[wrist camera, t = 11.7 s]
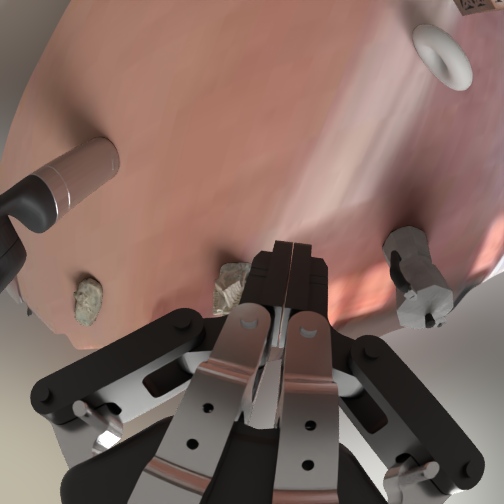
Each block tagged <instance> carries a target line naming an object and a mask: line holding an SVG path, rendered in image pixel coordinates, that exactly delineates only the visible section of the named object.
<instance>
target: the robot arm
mask: <svg viewBox="0 0 504 504" xmlns="http://www.w3.org/2000/svg"><path fill="white" fill-rule="evenodd" d="M118 169H119V156H118V153H117V150H116V148H115V147H114V145H113V144H112V143H111V142H110V141H109V140H107V139H105V138H103V137H97V138H94V139H92V140H90V141H88V142H86V143H84V144H82V145H80V146H78V147H76V148H74V149H72V150H70V151H68V152H66V153H65V154H63V155H61V156H59V157H57V158H56V159H54V160H52V161H51V162H49V163H47V164H46V165H44V166H42V167H41V168H39V169H38V170H36V171H34V172H33V173H31V174H30V175H28V176H27V177H25V178H24V179H22V180H21V181H20V182H18V183H17V184H16V185H14V186H13V187H11V188H10V189H9V190H7V191H6V192H4V193H3V194H1V195H0V293H1V292H2V291H3V290H4V289H5V288H6V286H7V285H8V284H9V283H10V282H11V281H12V280H13V278H14V277H15V276H16V275H17V274H18V272H19V271H20V269H21V268H22V266H23V265H24V263H25V260H26V256H27V255H26V250H25V248H24V246H23V244H22V242H21V240H20V238H19V237H18V234H17V233H16V231H15V229H14V227H13V225H12V223H11V221H10V219H9V217H8V215H11V216H13V217H15V218H16V219H18V220H19V221H20V222H21V223H22V224H23V225H25V226H26V227H27V228H28V229H29V230H31V231H33V232H35V233H43V232H45V231H47V230H48V229H49V228H50V227H51V226H52V225H54V224H55V223H56V222H57V221H58V220H59V219H60V218H62V217H63V216H64V215H65V214H66V213H67V212H69V211H70V210H71V209H72V208H73V207H75V206H76V205H77V204H78V203H80V202H81V201H82V200H83V199H85V198H86V197H87V196H89V195H90V194H91V193H93V192H94V191H95V190H97V189H98V188H99V187H101V186H102V185H103V184H105V183H106V182H108V181H109V180H110V179H112V178H113V177H114V176H115V175H116V174H117V172H118ZM292 247H293V242H286V241H277V240H276V241H275V244H274V248H273V252H267V251H261V252H259V253H258V254H257V255H256V256H255V257H254V259H253V262H252V265H251V269H250V271H249V274H248V277H247V280H246V283H245V286H244V289H243V292H242V296H241V299H240V302H239V304H238V306H236V307H234V308H233V309H232V310H231V311H230V313H229V314H227V315H225V316H222V317H215V318H202V316H201V315H200V314H199V313H198V312H197V311H195V310H193V309H190V308H180V309H176V310H174V311H172V312H170V313H168V314H166V315H164V316H162V317H161V318H159V319H157V320H155V321H153V322H151V323H149V324H147V325H145V326H144V327H142V328H140V329H138V330H136V331H134V332H132V333H130V334H128V335H126V336H125V337H123V338H121V339H119V340H117V341H115V342H113V343H111V344H109V345H107V346H105V347H103V348H101V349H99V350H98V351H96V352H94V353H92V354H90V355H88V356H86V357H84V358H82V359H80V360H78V361H76V362H74V363H72V364H70V365H68V366H66V367H64V368H62V369H60V370H58V371H56V372H55V373H53V374H50V375H48V376H47V377H44V378H42V379H41V380H39V381H38V382H37V383H36V384H35V385H34V386H33V389H32V391H31V397H30V399H31V404H32V406H33V408H34V410H35V411H36V412H37V413H39V414H40V415H42V416H43V417H45V418H46V419H48V420H49V421H50V423H51V424H52V426H53V429H54V432H55V435H56V438H57V440H58V443H59V446H60V448H61V450H62V453H63V455H64V457H65V460H66V462H67V464H68V466H69V470H68V471H67V473H66V474H65V475H64V477H63V479H62V482H61V487H60V496H61V501H62V504H443V503H444V502H445V501H446V500H447V499H448V498H449V497H450V496H451V495H452V494H455V493H458V492H462V491H465V490H469V489H471V488H473V487H474V486H475V485H477V483H478V482H479V481H480V479H481V478H482V475H483V473H484V468H485V461H484V458H483V456H482V454H481V453H480V451H479V450H478V449H477V448H476V446H475V445H474V444H473V443H472V441H471V440H470V439H469V438H468V437H467V435H466V434H465V433H464V431H463V430H462V429H461V428H460V427H459V426H458V424H457V423H456V422H455V421H454V420H453V418H452V417H451V416H450V415H449V413H447V411H446V410H445V409H444V408H443V406H442V405H441V404H440V403H439V402H438V401H437V400H436V398H435V397H434V396H433V395H432V394H431V393H430V391H429V390H428V389H427V388H426V387H425V386H424V384H423V383H422V382H421V381H420V380H419V379H418V378H417V377H416V375H415V374H414V373H413V372H412V371H411V370H410V369H409V368H408V366H407V365H406V364H405V363H404V362H403V361H402V360H401V359H400V358H399V356H398V355H397V354H396V353H395V352H394V351H393V350H392V349H391V348H390V347H389V346H388V344H387V343H385V341H384V340H382V339H381V338H379V337H376V336H373V335H364V336H361V337H359V338H357V339H356V340H354V339H351V338H349V337H346V336H344V335H342V334H340V333H338V332H337V331H336V330H334V329H333V327H332V326H331V325H330V323H329V321H328V315H327V314H328V267H327V265H326V263H325V262H324V260H323V258H315V257H311V249H312V245H310V244H302V243H294V249H293V255H292ZM291 256H292V262H291ZM290 264H291V269H290ZM289 273H290V275H289ZM288 280H289V281H288ZM287 287H288V288H287ZM286 293H287V294H286ZM285 299H286V300H285ZM284 305H285V306H284ZM283 311H284V313H283ZM282 316H283V321H282ZM281 322H282V328H281ZM280 328H281V335H280V342H279V347H280V348H284V350H283V355H282V362H281V367H280V378H279V389H278V399H277V409H276V415H275V423H274V428H273V429H255V428H253V427H250V426H248V425H249V422H250V418H251V414H252V410H253V406H254V402H255V400H256V396H257V393H258V390H259V387H260V384H261V381H262V378H263V374H264V371H265V368H266V364H267V361H268V359H269V356H270V351H271V346H272V347H277V344H278V339H279V333H280ZM184 390H186V391H185V394H184V396H183V398H182V400H181V402H180V404H179V406H178V408H177V410H176V413H175V415H173V416H170V417H167V418H164V419H162V420H160V421H158V422H156V423H154V424H153V425H151V426H149V427H148V428H146V429H144V430H142V431H141V432H139V433H137V434H135V435H134V436H132V437H130V438H128V439H126V440H125V441H123V442H121V443H119V444H117V445H115V446H114V447H112V448H110V447H111V446H112V445H113V444H114V443H116V442H117V441H118V440H119V439H120V438H121V436H122V433H123V424H124V423H126V422H128V421H130V420H132V419H134V418H136V417H138V416H140V415H142V414H143V413H145V412H147V411H149V410H151V409H152V408H154V407H156V406H158V405H160V404H161V403H163V402H165V401H167V400H168V399H170V398H172V397H174V396H175V395H177V394H179V393H180V392H182V391H184ZM339 406H340V407H341V409H342V410H343V411H344V413H345V414H346V415H347V417H348V418H349V419H350V421H351V422H352V423H353V425H354V426H355V427H356V428H357V430H358V431H359V432H360V434H361V435H362V436H363V438H364V439H365V440H366V442H367V443H368V444H369V445H370V447H371V448H372V449H373V451H374V452H375V453H376V454H377V456H378V457H379V458H380V460H381V461H382V462H383V463H384V465H385V466H386V467H387V469H388V471H387V472H386V474H385V477H384V480H383V486H384V489H385V491H386V493H387V496H388V503H387V501H386V500H385V498H384V497H383V496H382V495H381V493H380V492H379V490H378V489H377V487H376V486H375V484H374V483H373V482H372V480H371V479H370V477H369V476H368V475H367V473H366V472H365V470H364V469H363V467H362V466H361V465H360V463H359V462H358V460H357V459H356V457H355V456H354V455H353V454H352V452H351V451H349V449H348V448H346V447H345V446H344V445H343V444H341V443H339ZM109 448H110V449H109Z"/></svg>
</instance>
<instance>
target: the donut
mask: <svg viewBox="0 0 504 504" xmlns="http://www.w3.org/2000/svg"><path fill="white" fill-rule="evenodd" d="M413 43H414V46H415V48H416V50H417V52H418V54H419V56H420V57H421V59H422V60H423V62H424V63H425V65H426V66H427V67H428V69H429V70H430V71H431V72H432V73H433V74H434V75H435V76H436V77H437V78H438V79H439V80H440V81H441V82H442V83H444V84H445V85H446V86H448V87H450V88H452V89H454V90H458V91H460V90H466V89H467V88H468V87H469V86H470V85H471V83H472V69H471V66H470V63H469V61H468V59H467V57H466V55H465V53H464V52H463V50H462V49H461V47H460V46H459V45H458V44H457V42H456V41H455V40H454V39H453V38H452V37H451V36H450V35H449V34H447V33H446V32H444V31H443V30H442V29H440V28H438V27H435V26H433V25H430V24H421V25H418V26H417V27H416V28H415V29H414V31H413Z"/></svg>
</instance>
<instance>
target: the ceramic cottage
mask: <svg viewBox="0 0 504 504" xmlns="http://www.w3.org/2000/svg"><path fill="white" fill-rule="evenodd" d="M251 265H252V264H250V263H243V262H242V263H241V262H240V263H227V264H224V265H223V266H222V267H221V269H220V276H219V278H218V279H216V280H215V281H214V282H215V286H216V289H214V291H213V315H217V314H221V315H222V316H225V315H227V314H229V313H230V311H231V310H232V309H233V308H234V307H236V306H238V304H239V302H240V299H241V296H242V292H243V289H244V286H245V283H246V280H247V277H248V274H249V271H250V269H251ZM287 288H288V287H287ZM286 294H287V293H286ZM285 300H286V299H285ZM284 306H285V305H284ZM283 313H284V311H283ZM282 321H283V316H282ZM281 328H282V322H281ZM281 328H280V333H281ZM280 333H279V334H280Z"/></svg>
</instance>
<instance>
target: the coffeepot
mask: <svg viewBox="0 0 504 504" xmlns="http://www.w3.org/2000/svg"><path fill="white" fill-rule="evenodd" d="M382 249H383V252H384V255H385V258H386V261H387V263H388V265H389V267H390V276H391V279H392V280H393V282H394V284H395V286H396V301H397V314H398V317H399V321H400V325H401V326H405V327H410V328H413V329H417V330H419V329H422V328H425V327H426V328H431V327H441V326H442V324H445V323H446V317H445V316H446V315H447V314H448V313H449V311H450V310H451V309H452V308H453V292H452V290H451V288H450V287H449V285H448V283H447V282H446V280H445V279H444V277H443V276H442V274H441V273H440V271H439V270H438V268H437V267H436V266H435V265H434V264H432V260H431V256H430V251H429V247H428V243H427V239H426V235H425V232H423V231H421V230H419V229H418V228H415V227H412V226H406V227H402V228H399V229H397V230H395V231H394V232H391V233H390V235H389V236H388V238H387V239H386V241H385V244H384V246H383V248H382Z"/></svg>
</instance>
